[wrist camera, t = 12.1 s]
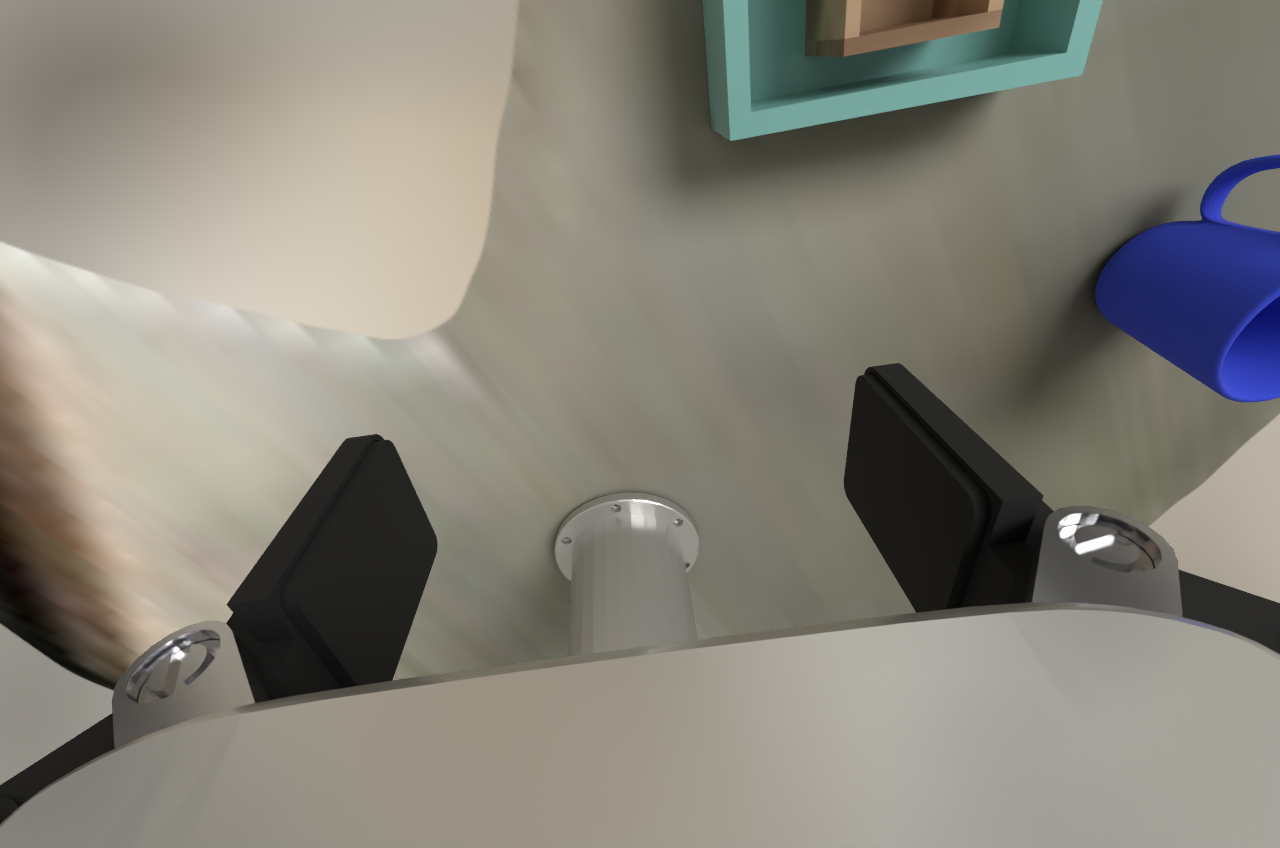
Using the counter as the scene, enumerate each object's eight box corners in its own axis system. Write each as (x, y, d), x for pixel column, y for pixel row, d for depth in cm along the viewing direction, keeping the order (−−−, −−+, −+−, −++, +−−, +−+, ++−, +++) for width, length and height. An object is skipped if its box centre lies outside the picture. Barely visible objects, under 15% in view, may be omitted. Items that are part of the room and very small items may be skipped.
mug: (1282, 132, 30) (1533, 160, 22) (1164, 325, 37) (1322, 400, 29) (1147, 134, 30) (1352, 164, 22) (1053, 329, 37) (1183, 407, 29)
